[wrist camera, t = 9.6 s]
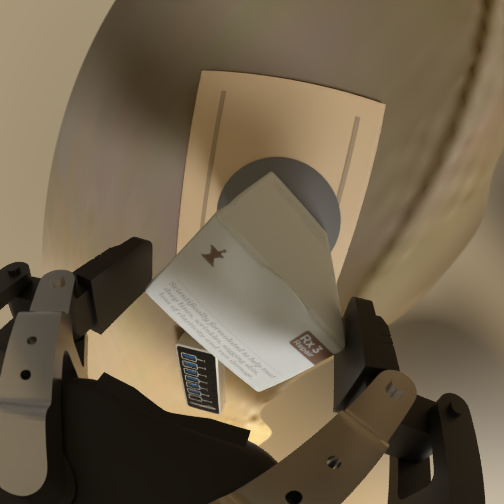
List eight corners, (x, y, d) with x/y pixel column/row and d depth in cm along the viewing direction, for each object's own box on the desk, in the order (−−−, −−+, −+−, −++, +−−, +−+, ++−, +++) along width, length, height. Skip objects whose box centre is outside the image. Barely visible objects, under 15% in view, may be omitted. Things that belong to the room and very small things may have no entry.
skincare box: (230, 209, 20) (130, 291, 9) (274, 166, 18) (207, 203, 7) (287, 269, 21) (250, 399, 10) (334, 233, 19) (349, 352, 8)
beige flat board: (205, 72, 17) (201, 70, 16) (383, 105, 15) (386, 104, 15) (178, 273, 24) (174, 276, 23) (322, 314, 22) (322, 318, 22)
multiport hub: (224, 338, 26) (217, 353, 24) (226, 401, 30) (220, 415, 28) (183, 329, 27) (174, 343, 25) (193, 393, 31) (186, 406, 29)
